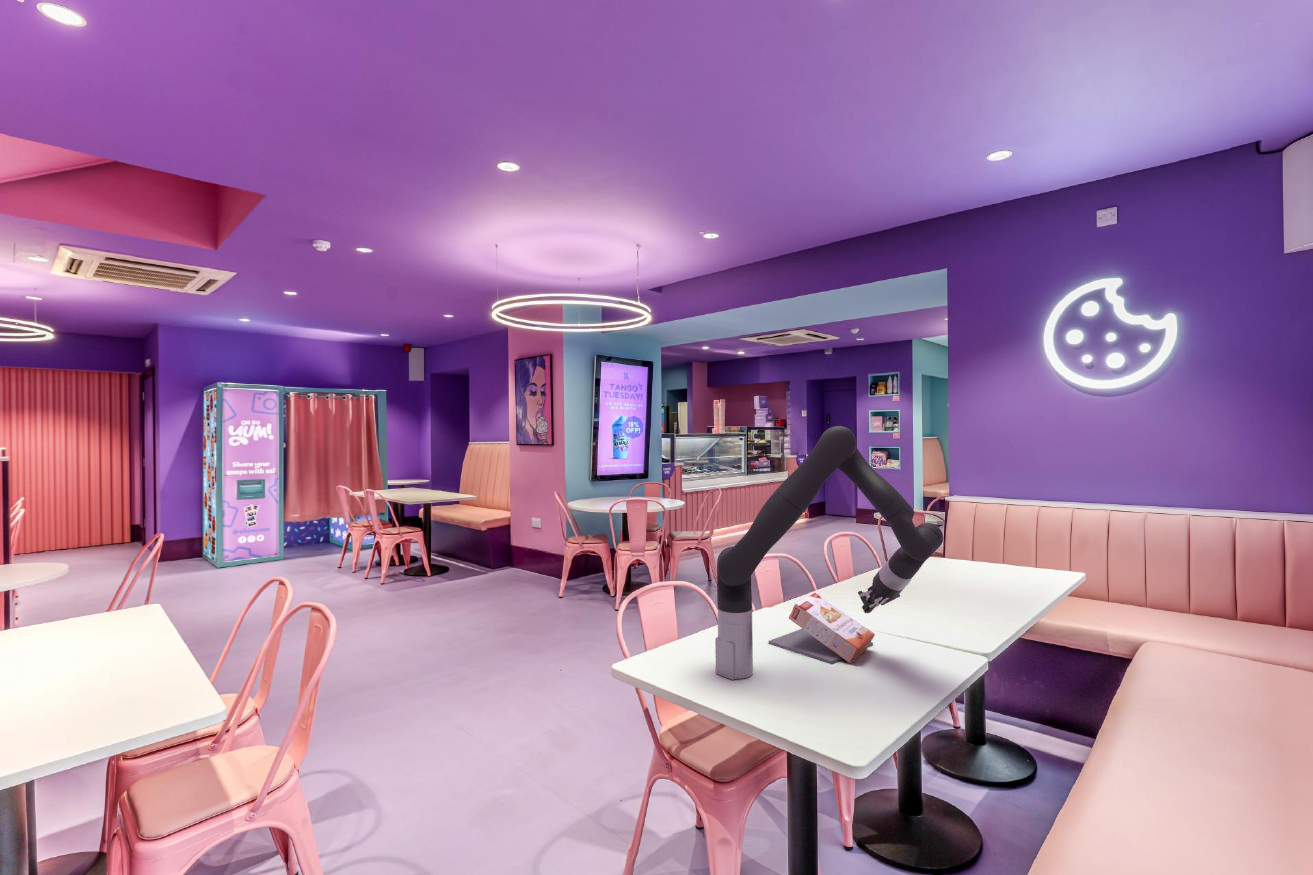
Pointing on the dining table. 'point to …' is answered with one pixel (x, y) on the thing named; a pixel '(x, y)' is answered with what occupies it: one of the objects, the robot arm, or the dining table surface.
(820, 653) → the mat
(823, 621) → the cracker box
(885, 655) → the dining table surface
